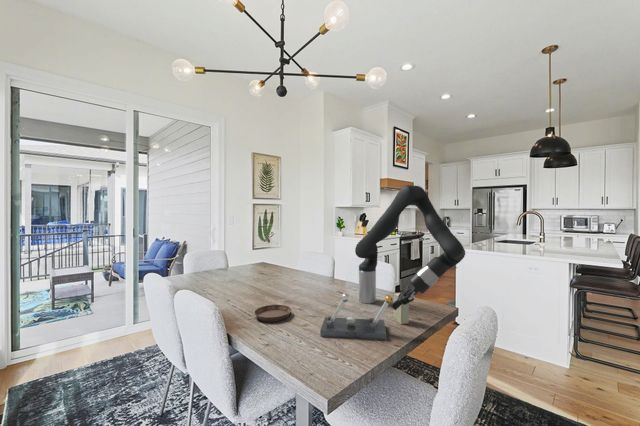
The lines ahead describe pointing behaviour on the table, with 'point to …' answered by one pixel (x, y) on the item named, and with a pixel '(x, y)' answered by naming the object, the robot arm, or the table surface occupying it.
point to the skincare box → (401, 312)
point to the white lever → (344, 299)
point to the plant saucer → (272, 312)
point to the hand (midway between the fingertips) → (393, 307)
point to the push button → (351, 320)
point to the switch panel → (353, 329)
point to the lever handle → (383, 308)
